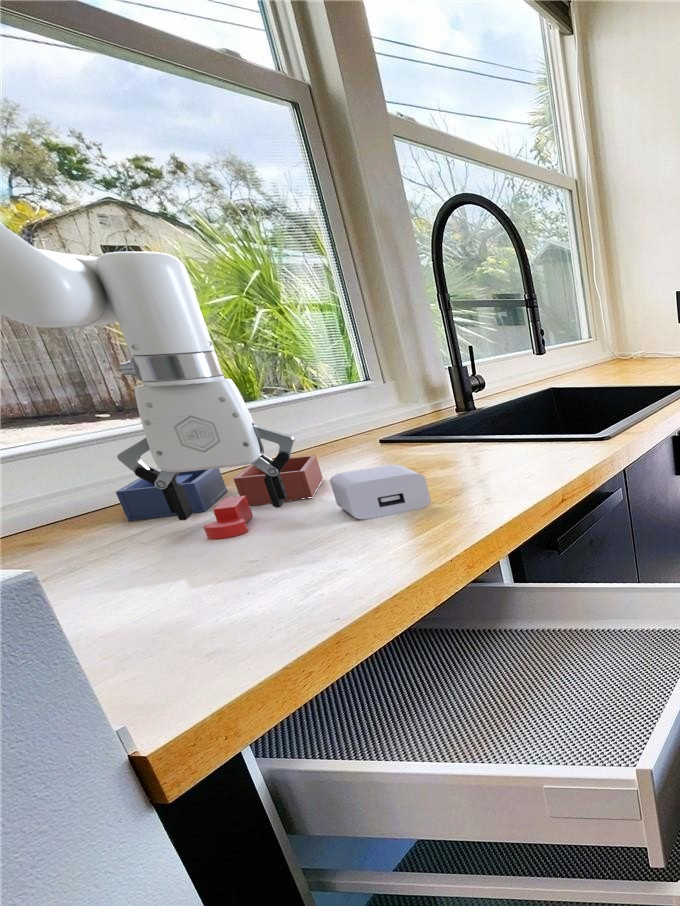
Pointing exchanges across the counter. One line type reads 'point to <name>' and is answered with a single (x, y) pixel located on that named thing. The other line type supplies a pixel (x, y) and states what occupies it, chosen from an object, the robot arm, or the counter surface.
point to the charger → (380, 491)
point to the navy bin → (151, 502)
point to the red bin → (296, 477)
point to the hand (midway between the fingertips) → (234, 511)
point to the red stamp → (229, 518)
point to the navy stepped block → (185, 479)
